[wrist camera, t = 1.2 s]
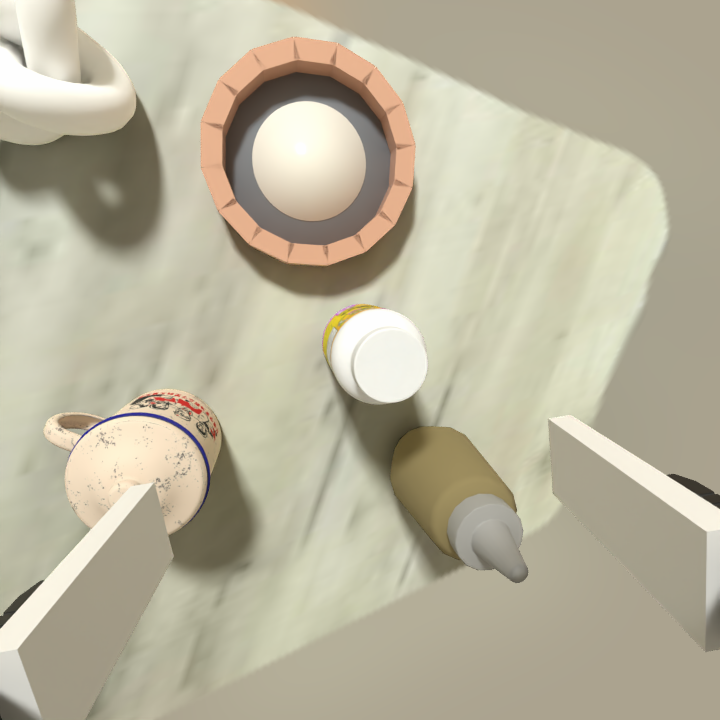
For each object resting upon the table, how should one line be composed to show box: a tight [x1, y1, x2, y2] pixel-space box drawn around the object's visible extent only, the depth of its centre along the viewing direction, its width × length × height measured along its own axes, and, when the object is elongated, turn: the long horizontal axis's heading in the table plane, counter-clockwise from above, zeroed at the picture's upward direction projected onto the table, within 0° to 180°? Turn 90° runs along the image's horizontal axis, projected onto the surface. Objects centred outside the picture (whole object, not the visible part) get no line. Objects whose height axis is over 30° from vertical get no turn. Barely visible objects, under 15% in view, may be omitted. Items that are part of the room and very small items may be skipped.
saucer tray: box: [201, 37, 416, 267], centre depth 36 cm, size 16×16×3 cm
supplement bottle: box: [322, 304, 428, 405], centre depth 34 cm, size 7×7×13 cm
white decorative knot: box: [0, 0, 136, 145], centre depth 29 cm, size 11×12×9 cm
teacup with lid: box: [43, 389, 221, 535], centre depth 33 cm, size 12×9×12 cm
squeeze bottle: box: [390, 426, 528, 583], centre depth 34 cm, size 8×8×18 cm
